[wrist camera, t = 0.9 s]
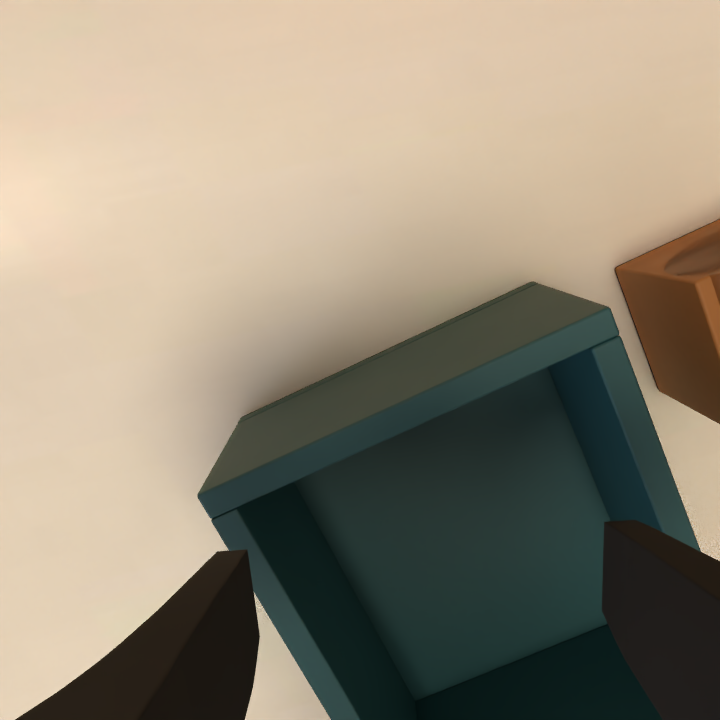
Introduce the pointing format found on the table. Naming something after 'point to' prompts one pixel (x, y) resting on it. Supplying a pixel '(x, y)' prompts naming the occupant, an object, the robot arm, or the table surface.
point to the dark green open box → (454, 517)
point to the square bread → (680, 316)
